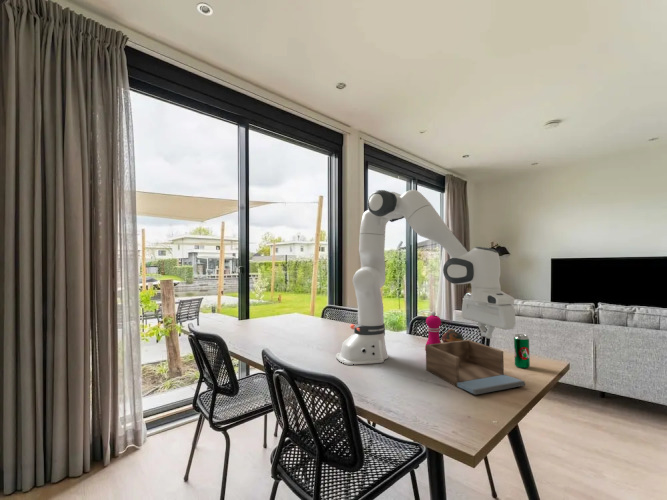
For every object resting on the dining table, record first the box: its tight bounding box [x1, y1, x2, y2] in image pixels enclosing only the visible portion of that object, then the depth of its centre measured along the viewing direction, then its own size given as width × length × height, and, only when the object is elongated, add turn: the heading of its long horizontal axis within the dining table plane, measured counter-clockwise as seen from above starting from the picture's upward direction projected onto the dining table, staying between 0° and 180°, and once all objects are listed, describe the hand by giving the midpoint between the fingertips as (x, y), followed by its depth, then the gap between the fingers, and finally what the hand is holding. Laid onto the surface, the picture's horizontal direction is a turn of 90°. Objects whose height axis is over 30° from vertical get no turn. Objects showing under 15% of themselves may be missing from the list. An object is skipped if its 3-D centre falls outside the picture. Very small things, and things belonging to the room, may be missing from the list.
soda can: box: [513, 333, 531, 370], centre depth 125 cm, size 5×5×12 cm
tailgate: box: [457, 374, 526, 396], centre depth 106 cm, size 20×1×8 cm
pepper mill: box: [424, 311, 442, 352], centre depth 134 cm, size 7×7×20 cm
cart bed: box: [425, 339, 505, 388], centre depth 118 cm, size 20×17×10 cm
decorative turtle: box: [441, 328, 465, 343], centre depth 151 cm, size 10×15×8 cm, turn 170°
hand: (486, 337), depth 108 cm, fingers closed
